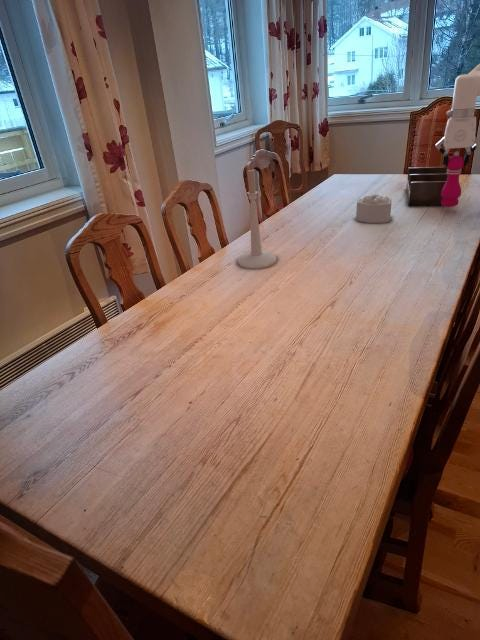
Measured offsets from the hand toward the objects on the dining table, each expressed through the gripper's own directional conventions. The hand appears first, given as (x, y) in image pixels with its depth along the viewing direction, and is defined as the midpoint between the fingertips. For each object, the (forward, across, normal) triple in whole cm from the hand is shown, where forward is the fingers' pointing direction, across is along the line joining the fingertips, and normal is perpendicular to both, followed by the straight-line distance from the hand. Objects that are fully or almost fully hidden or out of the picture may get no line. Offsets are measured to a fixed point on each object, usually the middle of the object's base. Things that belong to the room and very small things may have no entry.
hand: (455, 165), depth 163 cm
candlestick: (+16, -65, -56) cm, 87 cm away
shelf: (+18, -7, +20) cm, 28 cm away
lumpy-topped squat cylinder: (+17, -29, -10) cm, 35 cm away
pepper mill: (+15, 0, 0) cm, 15 cm away
